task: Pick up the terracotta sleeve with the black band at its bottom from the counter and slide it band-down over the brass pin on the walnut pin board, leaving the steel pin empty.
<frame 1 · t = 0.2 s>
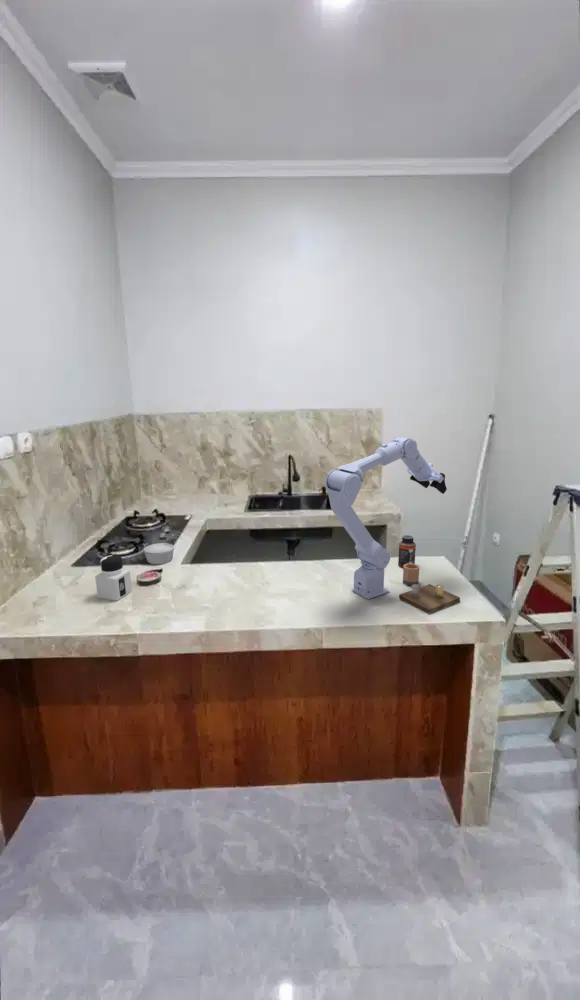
hand: (435, 488, 161), 31 cm above the countertop, tool tilted 45°, fingers open, 7 cm apart
pin board: (429, 600, 147), on the countertop
container: (115, 595, 154), on the countertop
sleeve: (410, 582, 160), on the countertop
supplement bottle: (406, 566, 175), on the countertop
brass pin: (438, 601, 147), resting on pin board
ramekin: (160, 560, 184), on the countertop
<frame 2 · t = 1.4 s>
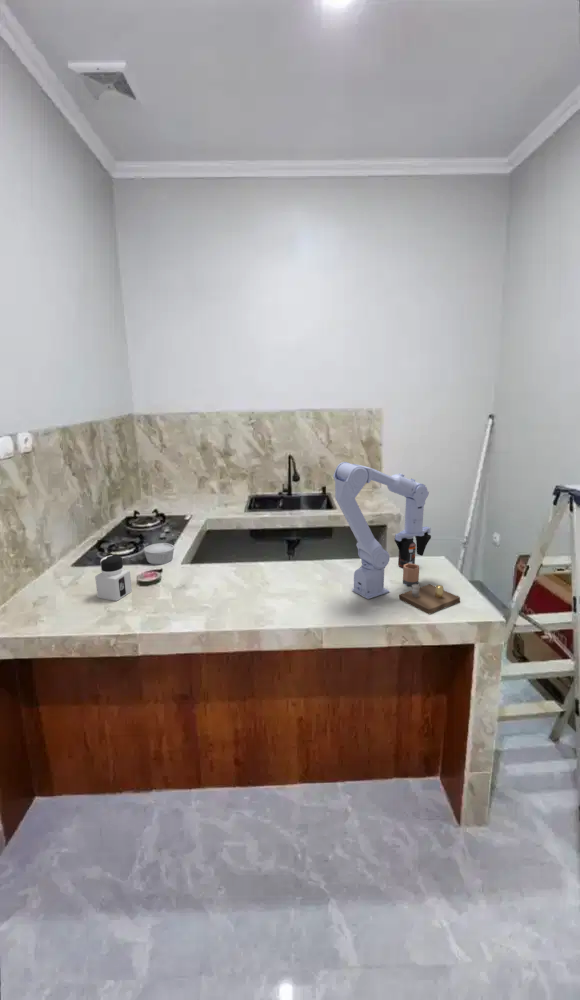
hand: (411, 557, 158), 9 cm above the countertop, tool pointing down, fingers open, 7 cm apart
nothing on the countertop moved.
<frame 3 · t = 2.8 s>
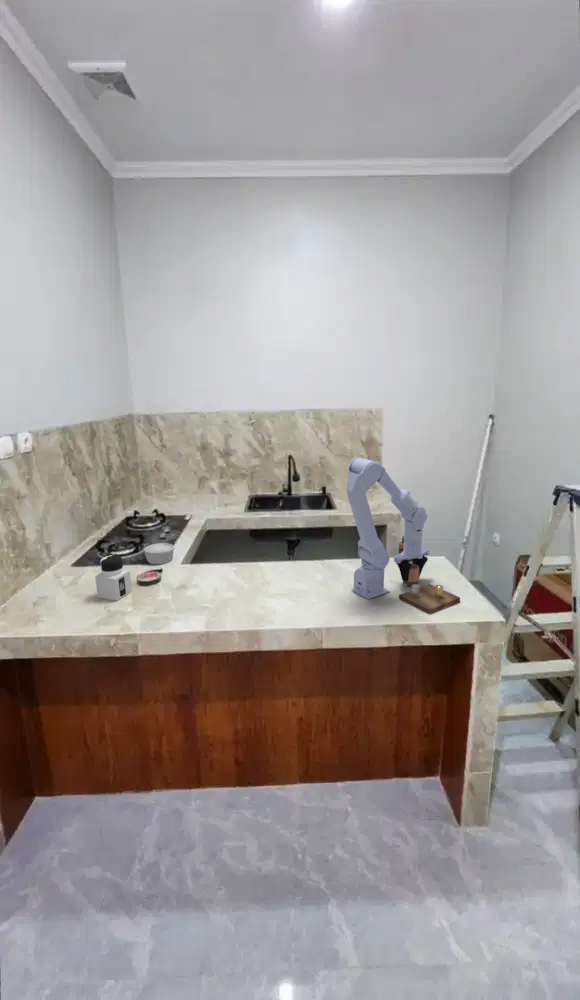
hand: (410, 578, 160), 2 cm above the countertop, tool pointing down, fingers closed on sleeve, 5 cm apart
sleeve: (410, 582, 160), on the countertop, touching gripper
everything else where it was.
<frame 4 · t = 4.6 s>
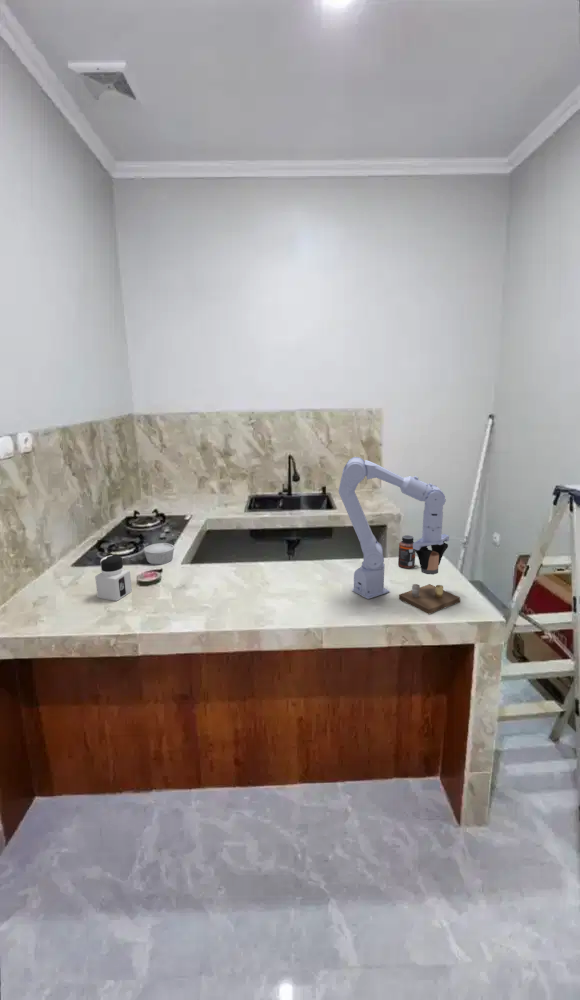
hand: (429, 566, 149), 9 cm above the countertop, tool pointing down, fingers closed on sleeve, 5 cm apart
sleeve: (429, 571, 150), point 8 cm above the countertop, touching gripper
everything else where it was.
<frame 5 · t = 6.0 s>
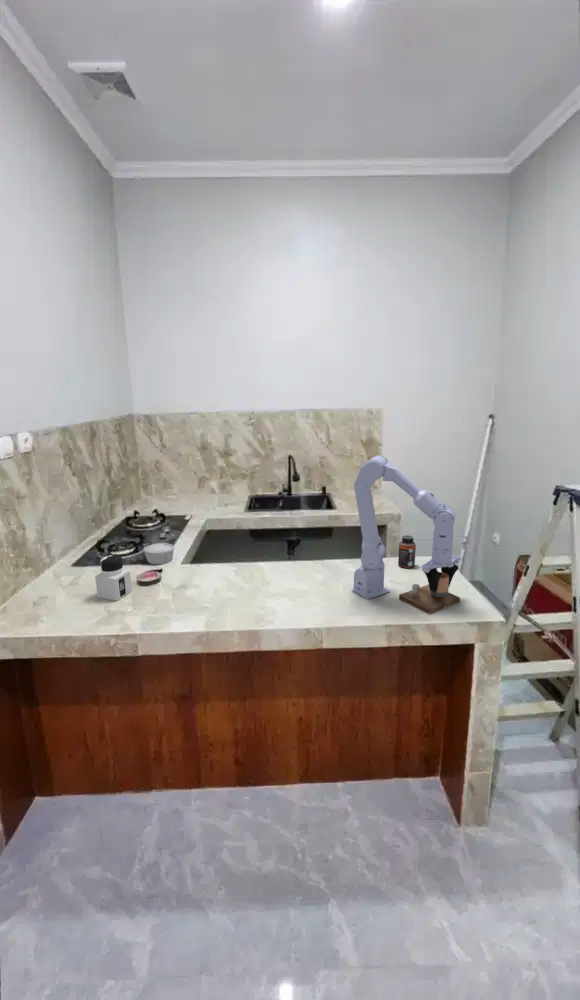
hand: (439, 588, 146), 4 cm above the countertop, tool pointing down, fingers closed on sleeve, 5 cm apart
sleeve: (439, 593, 146), point 3 cm above the countertop, touching gripper
everything else where it was.
when the fingers open (4 cm above the countertop, at t = 6.9 s): sleeve drops 1 cm, resting on pin board.
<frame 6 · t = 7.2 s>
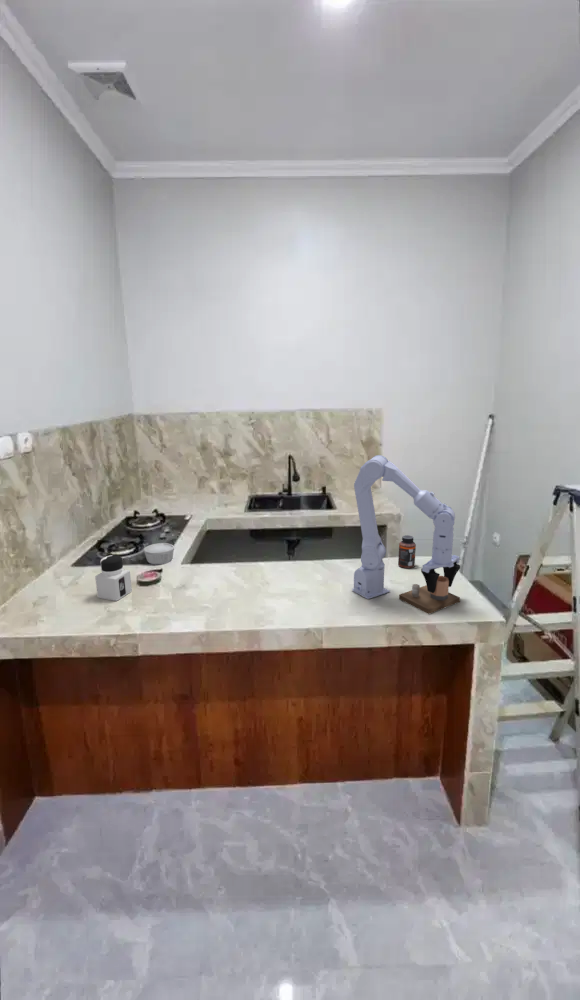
hand: (439, 588, 146), 4 cm above the countertop, tool pointing down, fingers open, 7 cm apart
sleeve: (438, 596, 146), point 1 cm above the countertop, touching pin board
everything else where it was.
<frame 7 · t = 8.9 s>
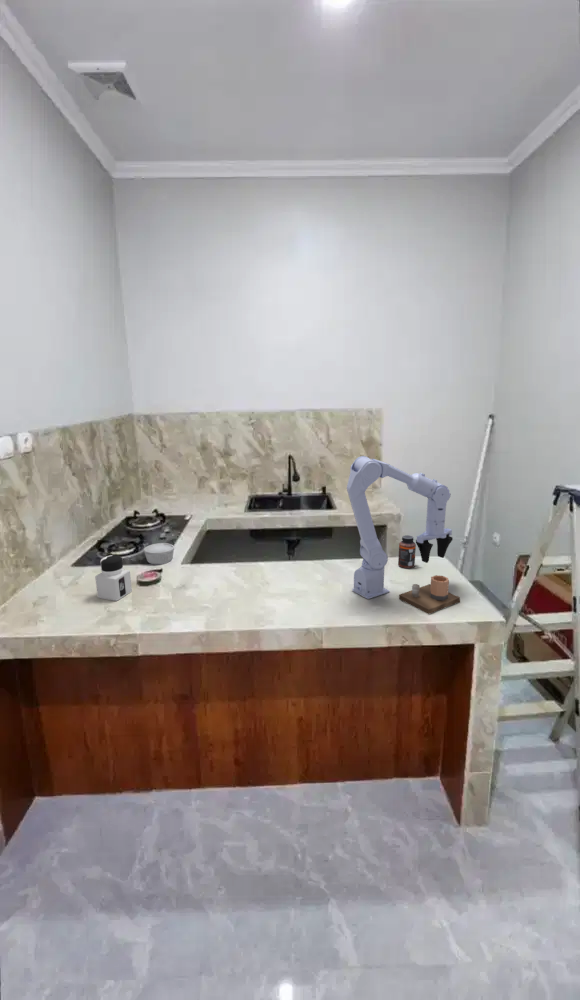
hand: (433, 559, 155), 9 cm above the countertop, tool pointing down, fingers open, 7 cm apart
nothing on the countertop moved.
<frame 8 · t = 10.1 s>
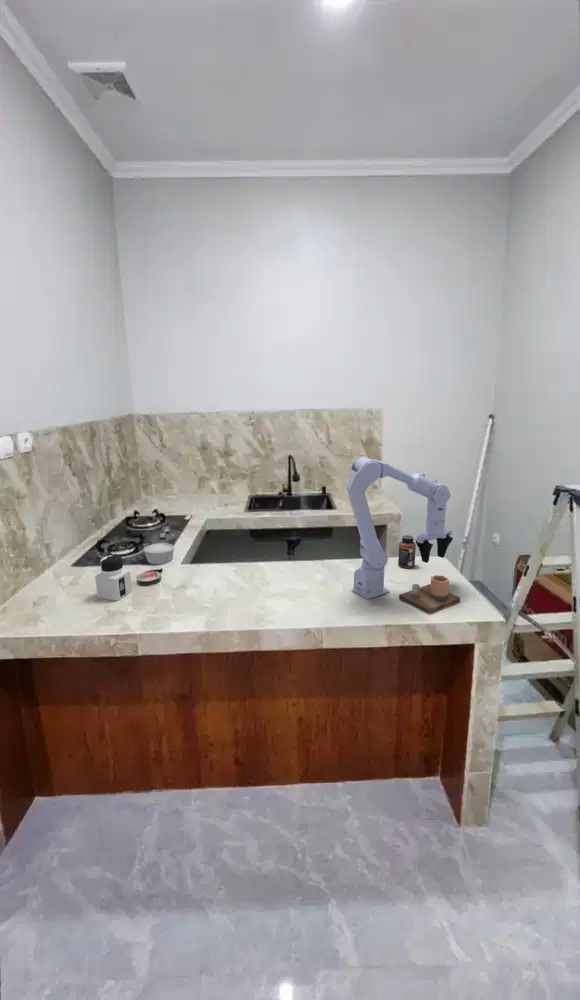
hand: (433, 559, 155), 9 cm above the countertop, tool pointing down, fingers open, 7 cm apart
nothing on the countertop moved.
at the end: sleeve 0.1 cm from the brass pin (horizontally); sleeve point 1.5 cm above the countertop; sleeve tilted 0° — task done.
